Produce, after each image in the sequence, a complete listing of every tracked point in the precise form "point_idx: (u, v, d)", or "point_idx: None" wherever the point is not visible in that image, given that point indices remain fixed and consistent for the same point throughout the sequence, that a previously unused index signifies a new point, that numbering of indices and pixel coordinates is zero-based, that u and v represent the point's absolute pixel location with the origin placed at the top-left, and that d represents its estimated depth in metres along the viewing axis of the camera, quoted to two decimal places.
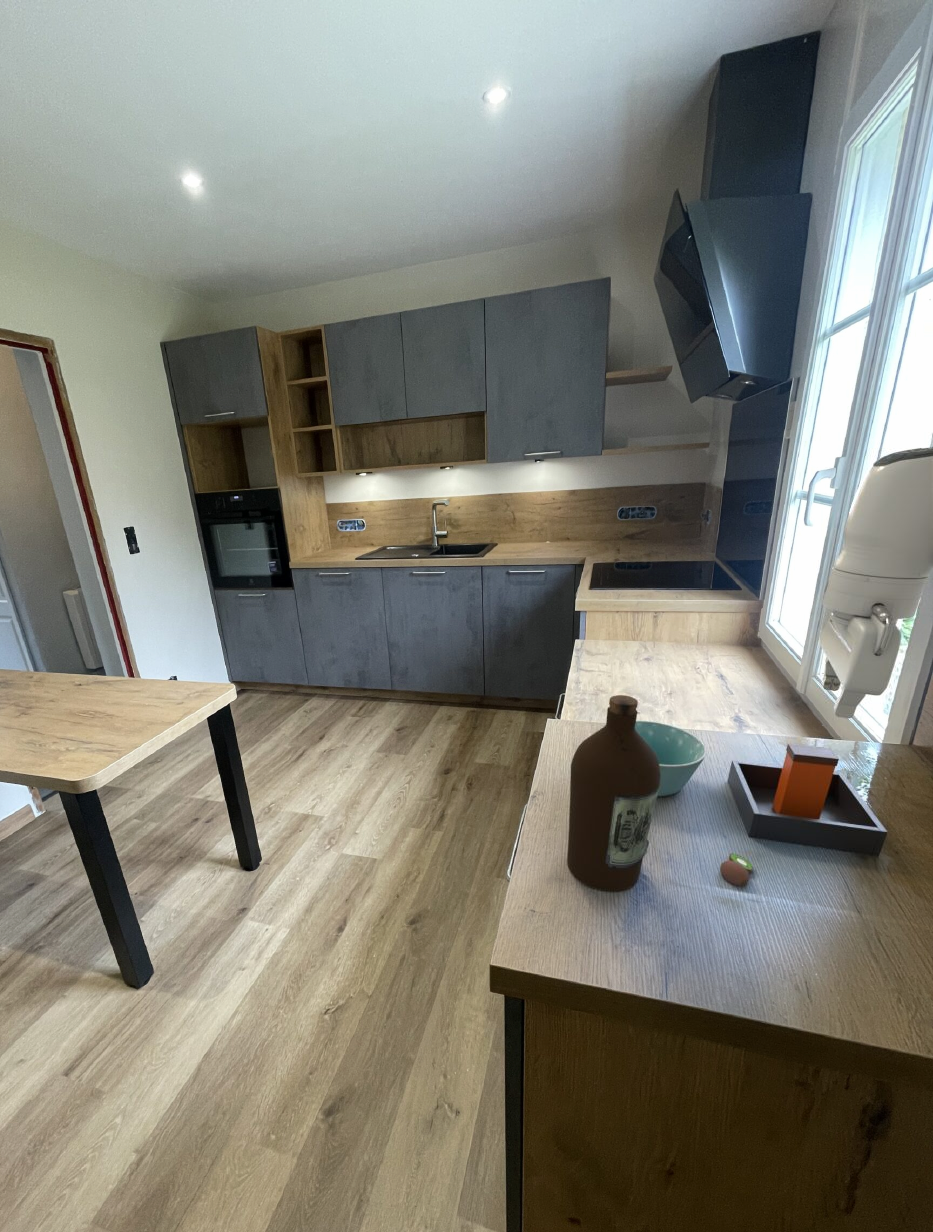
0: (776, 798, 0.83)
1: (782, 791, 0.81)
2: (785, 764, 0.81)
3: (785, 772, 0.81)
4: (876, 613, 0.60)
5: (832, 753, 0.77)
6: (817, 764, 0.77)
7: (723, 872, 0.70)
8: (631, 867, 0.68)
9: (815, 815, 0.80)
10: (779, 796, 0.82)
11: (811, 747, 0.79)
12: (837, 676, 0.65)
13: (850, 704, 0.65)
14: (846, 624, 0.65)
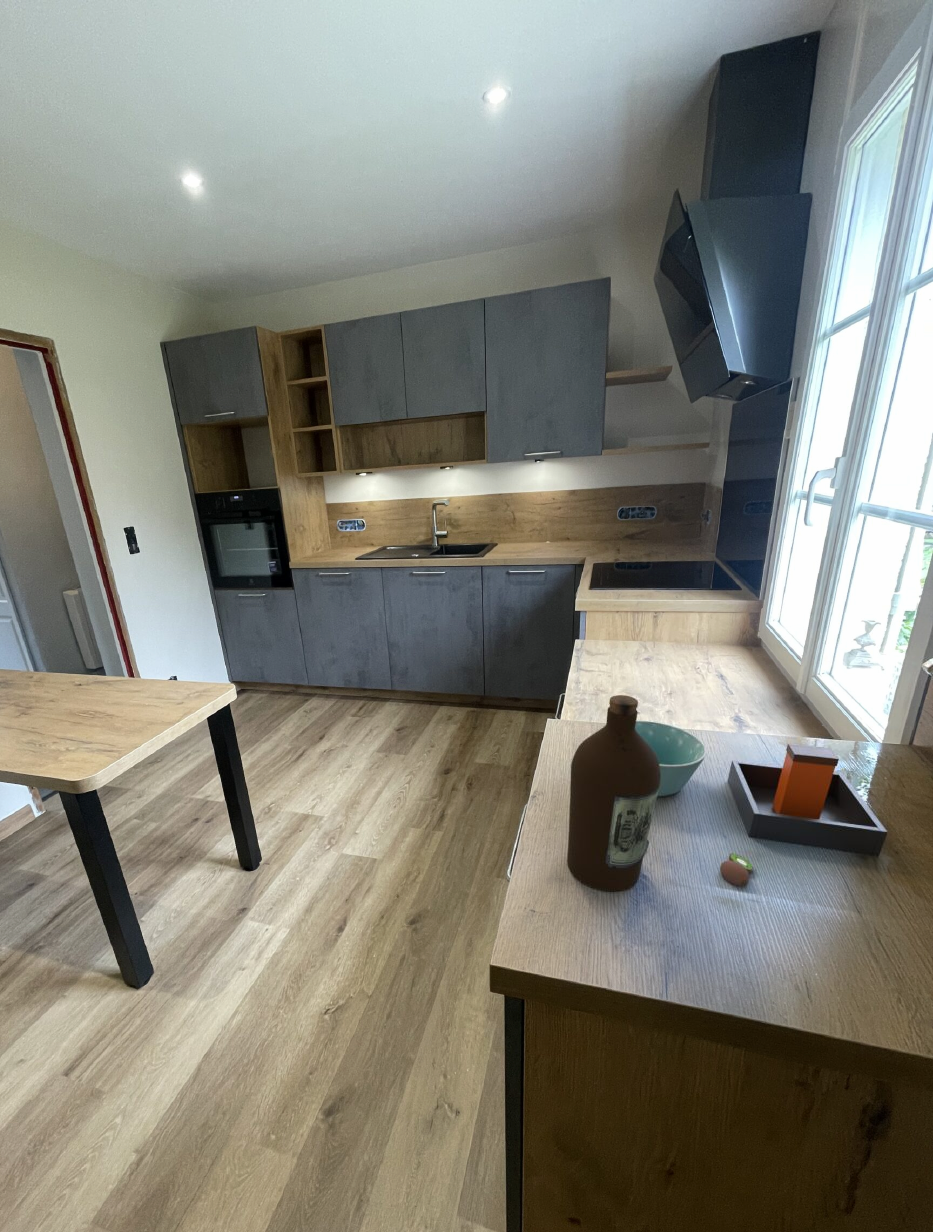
0: (776, 798, 0.83)
1: (782, 791, 0.81)
2: (785, 764, 0.81)
3: (785, 772, 0.81)
4: None
5: (832, 753, 0.77)
6: (817, 764, 0.77)
7: (723, 872, 0.70)
8: (631, 867, 0.68)
9: (815, 815, 0.80)
10: (779, 796, 0.82)
11: (811, 747, 0.79)
12: None
13: None
14: None
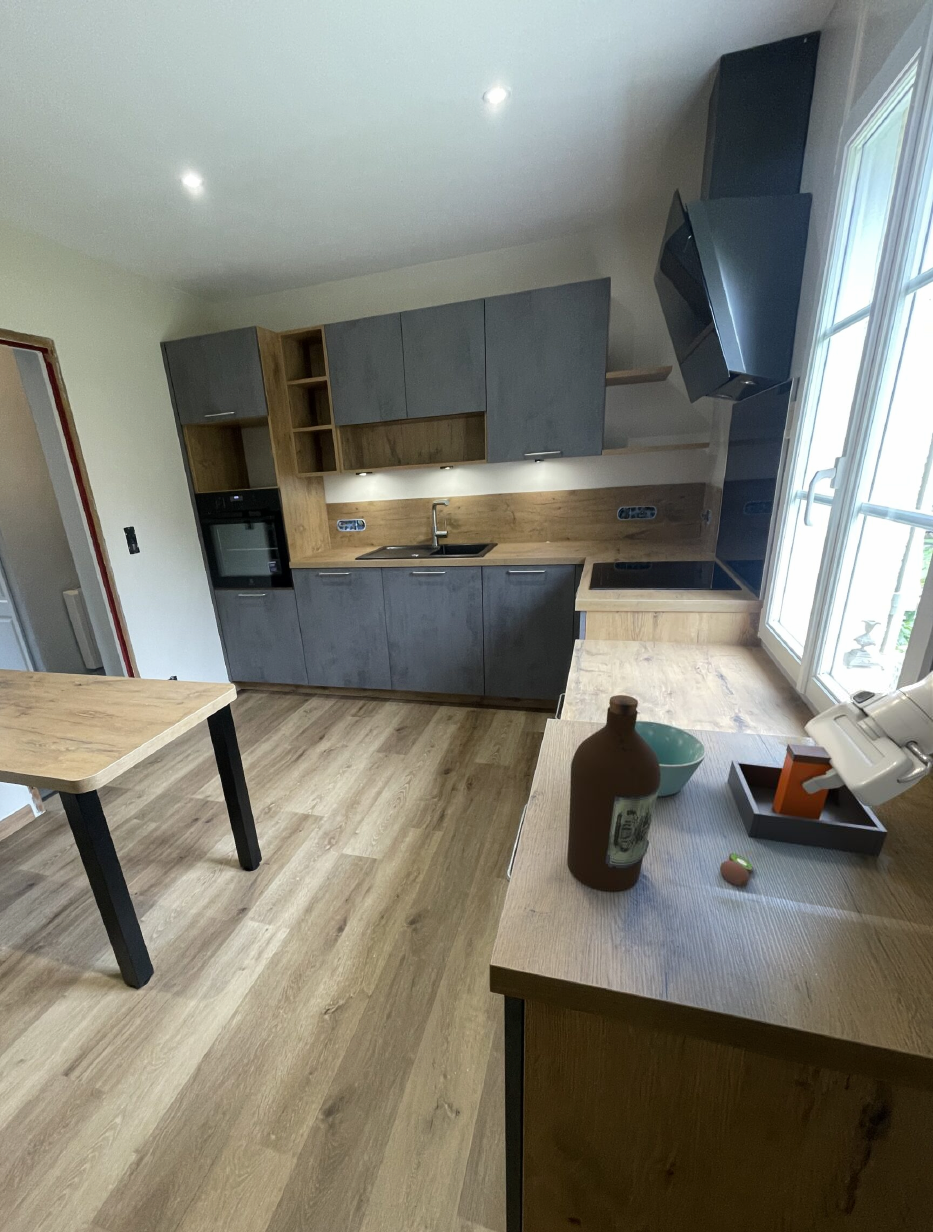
0: (776, 798, 0.83)
1: (782, 791, 0.81)
2: (785, 764, 0.81)
3: (785, 772, 0.81)
4: (916, 750, 0.68)
5: None
6: (817, 764, 0.77)
7: (723, 872, 0.70)
8: (631, 867, 0.68)
9: (815, 815, 0.80)
10: (779, 796, 0.82)
11: (811, 747, 0.79)
12: (837, 771, 0.74)
13: (820, 785, 0.77)
14: (874, 738, 0.73)
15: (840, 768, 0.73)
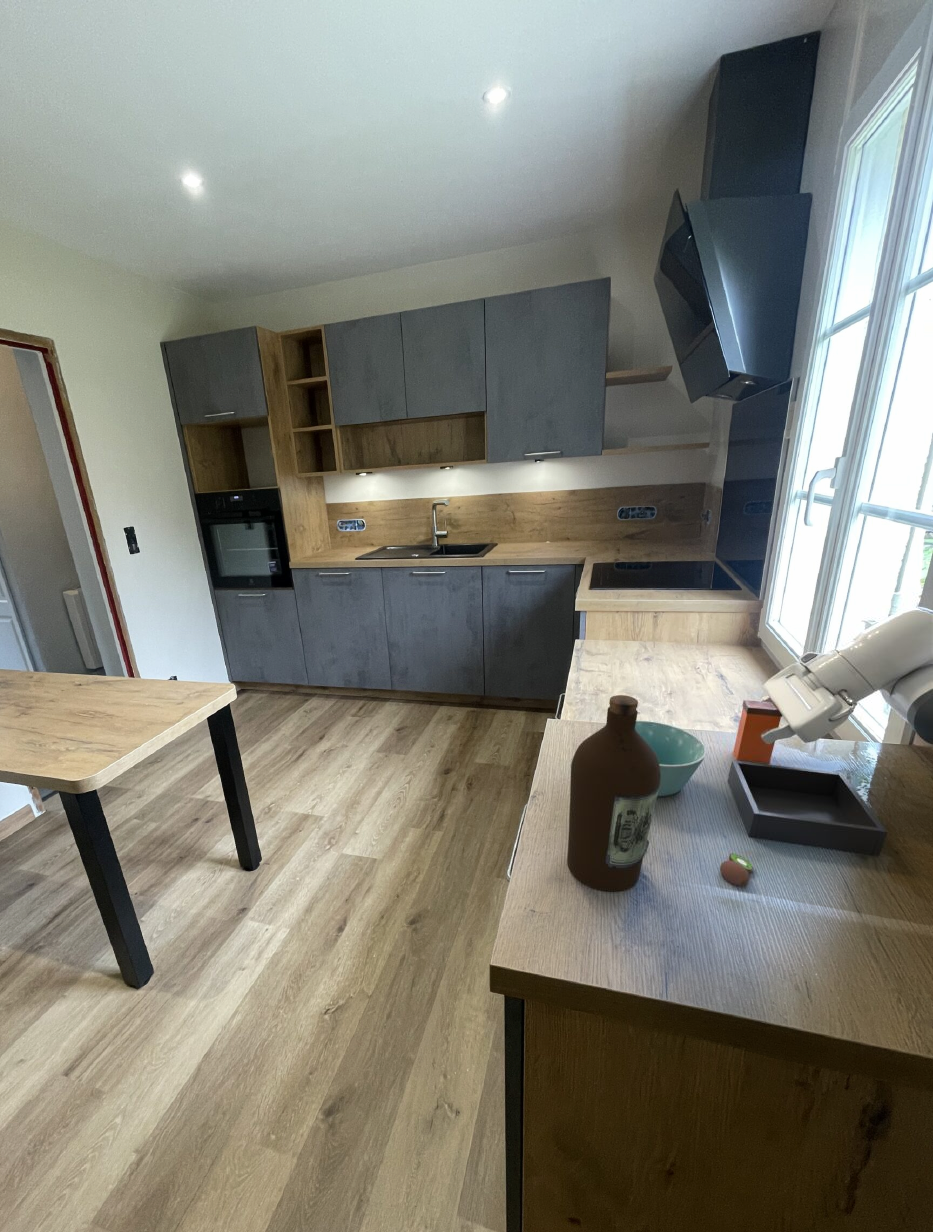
0: (735, 747, 1.00)
1: (739, 740, 0.97)
2: (742, 717, 0.97)
3: (741, 724, 0.97)
4: (844, 696, 0.84)
5: None
6: (766, 716, 0.94)
7: (723, 872, 0.70)
8: (631, 867, 0.68)
9: (766, 759, 0.96)
10: (737, 744, 0.98)
11: (762, 702, 0.96)
12: (784, 716, 0.89)
13: (776, 736, 0.90)
14: (814, 689, 0.89)
15: (786, 714, 0.89)
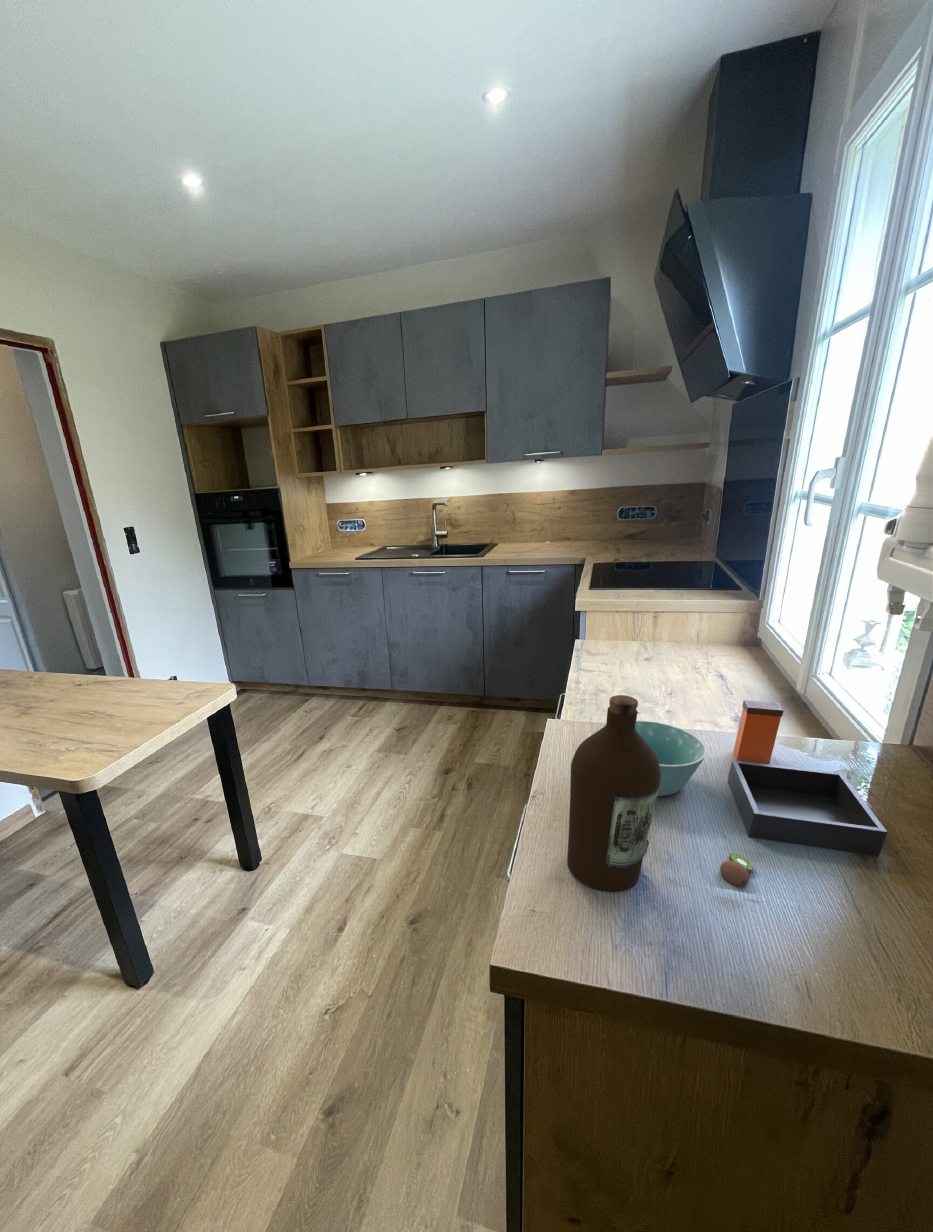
0: (735, 747, 1.00)
1: (739, 740, 0.97)
2: (742, 717, 0.97)
3: (741, 724, 0.97)
4: None
5: (778, 706, 0.94)
6: (766, 716, 0.94)
7: (723, 872, 0.70)
8: (631, 867, 0.68)
9: (766, 759, 0.96)
10: (737, 744, 0.98)
11: (762, 702, 0.96)
12: (920, 596, 0.77)
13: (932, 619, 0.77)
14: (923, 552, 0.77)
15: (920, 593, 0.77)
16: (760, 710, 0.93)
